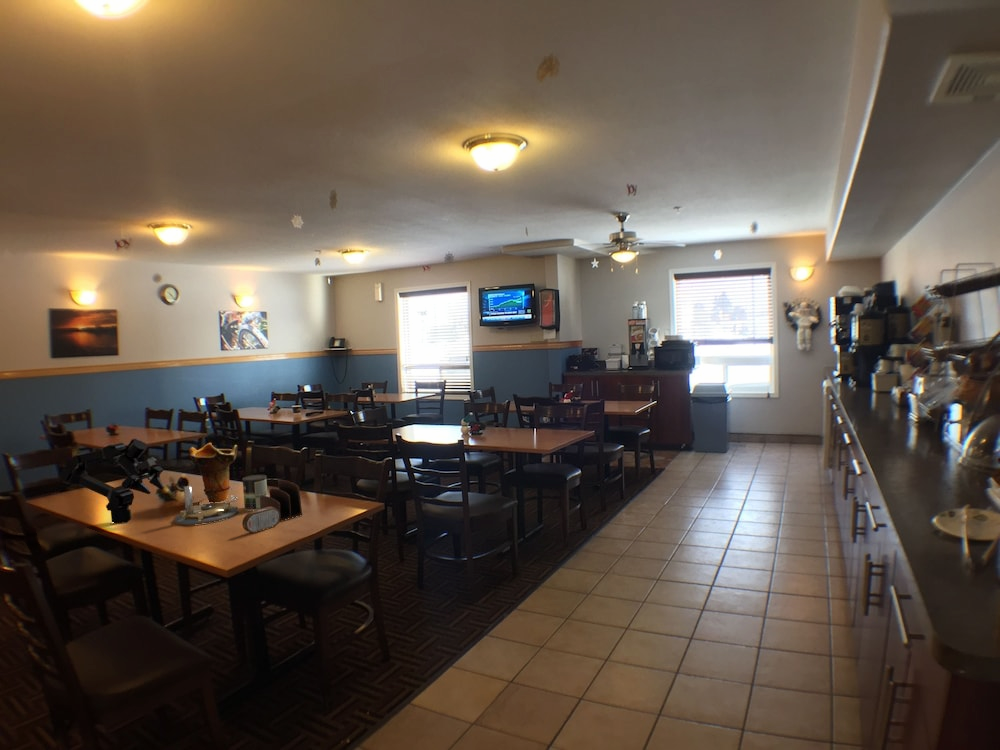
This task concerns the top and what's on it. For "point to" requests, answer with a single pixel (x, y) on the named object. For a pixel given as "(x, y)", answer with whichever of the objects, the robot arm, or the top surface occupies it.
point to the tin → (261, 519)
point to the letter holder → (284, 500)
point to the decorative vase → (214, 470)
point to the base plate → (206, 518)
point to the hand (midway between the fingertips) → (156, 491)
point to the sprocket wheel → (202, 507)
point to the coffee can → (254, 491)
